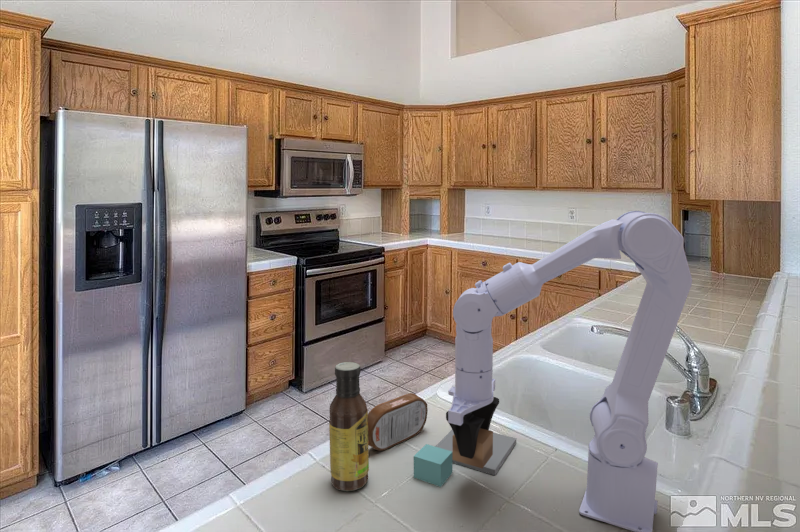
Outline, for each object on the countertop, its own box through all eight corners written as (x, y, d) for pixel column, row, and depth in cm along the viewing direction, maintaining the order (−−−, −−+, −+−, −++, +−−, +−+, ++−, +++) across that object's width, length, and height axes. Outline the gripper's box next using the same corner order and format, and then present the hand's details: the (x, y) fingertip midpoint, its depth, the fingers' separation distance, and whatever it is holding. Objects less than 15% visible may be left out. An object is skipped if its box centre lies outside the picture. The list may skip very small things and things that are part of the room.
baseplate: (516, 443, 90) (516, 438, 90) (494, 475, 80) (494, 469, 79) (457, 428, 96) (457, 423, 96) (430, 456, 86) (430, 451, 85)
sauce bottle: (366, 494, 75) (363, 374, 72) (327, 493, 75) (323, 373, 72) (371, 471, 81) (369, 359, 78) (335, 470, 82) (331, 359, 79)
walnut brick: (492, 454, 76) (493, 431, 76) (482, 468, 72) (482, 444, 72) (463, 446, 79) (463, 424, 78) (452, 459, 75) (452, 436, 74)
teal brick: (452, 473, 80) (452, 451, 80) (440, 487, 77) (440, 464, 76) (426, 465, 83) (426, 444, 82) (413, 478, 79) (413, 456, 79)
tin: (419, 425, 97) (419, 386, 96) (430, 431, 95) (430, 391, 93) (360, 452, 87) (359, 409, 86) (371, 459, 85) (370, 415, 84)
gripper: (467, 349, 81) (467, 423, 83) (429, 377, 69) (429, 463, 71) (507, 355, 78) (506, 433, 80) (474, 386, 66) (473, 477, 68)
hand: (473, 448), depth 75 cm, fingers closed on walnut brick, 4 cm apart
